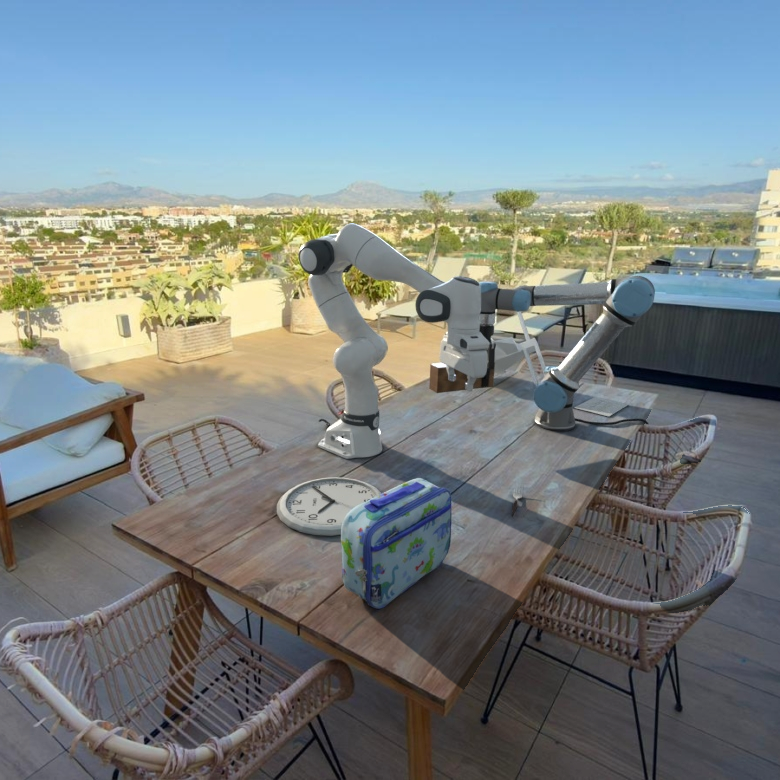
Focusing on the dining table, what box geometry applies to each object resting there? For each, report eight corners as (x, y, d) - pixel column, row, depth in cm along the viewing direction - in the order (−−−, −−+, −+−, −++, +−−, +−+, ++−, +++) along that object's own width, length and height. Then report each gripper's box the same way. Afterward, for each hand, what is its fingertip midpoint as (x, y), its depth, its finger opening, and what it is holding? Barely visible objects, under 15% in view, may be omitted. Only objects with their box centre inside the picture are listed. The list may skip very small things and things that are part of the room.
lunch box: (370, 622, 101) (370, 527, 94) (335, 595, 108) (333, 505, 102) (455, 565, 118) (460, 481, 112) (420, 544, 125) (423, 465, 119)
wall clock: (392, 527, 129) (268, 531, 127) (391, 533, 130) (269, 537, 127) (383, 473, 158) (282, 475, 155) (383, 478, 158) (282, 480, 156)
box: (484, 382, 205) (486, 358, 202) (493, 386, 200) (495, 362, 197) (429, 388, 196) (430, 363, 193) (436, 393, 190) (438, 367, 188)
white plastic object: (486, 418, 267) (465, 395, 242) (467, 346, 289) (447, 318, 264) (556, 394, 255) (543, 367, 230) (531, 321, 277) (516, 289, 252)
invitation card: (608, 416, 214) (573, 407, 224) (608, 416, 214) (573, 408, 224) (628, 404, 229) (594, 396, 238) (628, 405, 229) (594, 397, 238)
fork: (506, 517, 138) (507, 510, 138) (514, 490, 152) (515, 483, 152) (516, 518, 137) (517, 512, 137) (523, 491, 152) (524, 485, 151)
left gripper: (435, 331, 152) (433, 376, 156) (472, 345, 134) (469, 396, 138) (454, 329, 154) (451, 374, 158) (493, 343, 136) (489, 394, 141)
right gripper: (462, 320, 201) (458, 378, 208) (490, 329, 184) (485, 392, 191) (478, 319, 204) (474, 376, 211) (507, 328, 187) (502, 389, 194)
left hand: (460, 385), depth 148 cm, fingers open, 8 cm apart
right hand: (479, 383), depth 201 cm, fingers closed on box, 6 cm apart
